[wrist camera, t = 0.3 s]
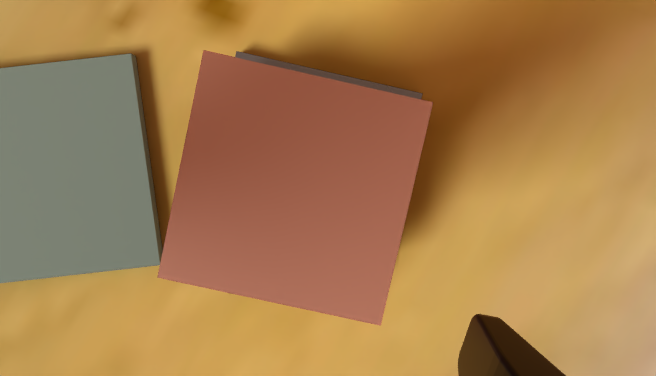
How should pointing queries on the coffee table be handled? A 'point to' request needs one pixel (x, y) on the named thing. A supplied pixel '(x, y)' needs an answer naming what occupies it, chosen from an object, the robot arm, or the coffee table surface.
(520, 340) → the robot arm
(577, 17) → the coffee table surface
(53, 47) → the coffee table surface
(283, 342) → the coffee table surface
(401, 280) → the coffee table surface
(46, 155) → the green pad
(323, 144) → the terracotta peg
